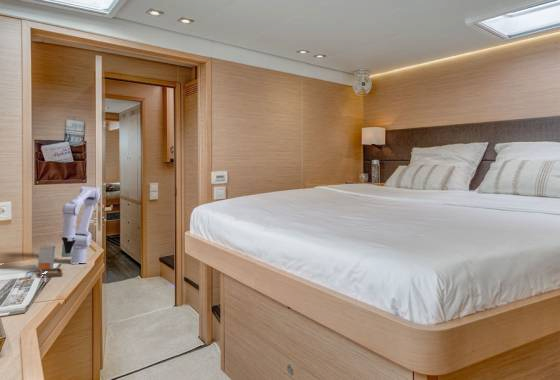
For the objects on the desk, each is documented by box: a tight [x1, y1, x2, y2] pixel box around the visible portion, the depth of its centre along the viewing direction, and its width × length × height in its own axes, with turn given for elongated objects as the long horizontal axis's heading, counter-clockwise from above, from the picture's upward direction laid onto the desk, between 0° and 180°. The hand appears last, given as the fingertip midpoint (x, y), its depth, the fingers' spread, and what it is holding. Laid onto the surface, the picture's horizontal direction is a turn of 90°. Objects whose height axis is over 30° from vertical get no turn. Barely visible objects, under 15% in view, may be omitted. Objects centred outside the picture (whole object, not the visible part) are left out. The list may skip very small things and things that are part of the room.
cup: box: [61, 244, 73, 258], centre depth 188 cm, size 5×5×6 cm
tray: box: [39, 267, 64, 278], centre depth 178 cm, size 9×9×2 cm
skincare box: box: [37, 245, 56, 271], centre depth 186 cm, size 6×4×12 cm
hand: (67, 252), depth 188 cm, fingers closed on cup, 5 cm apart
